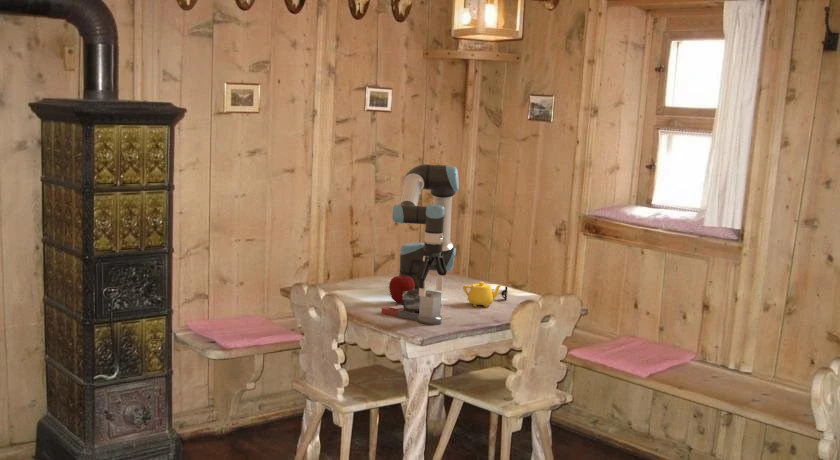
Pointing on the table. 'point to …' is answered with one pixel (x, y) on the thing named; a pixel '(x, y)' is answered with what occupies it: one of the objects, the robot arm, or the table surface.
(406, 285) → the apple
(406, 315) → the ratchet
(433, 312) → the grey upright rectangular block
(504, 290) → the valve
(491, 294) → the teapot
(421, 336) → the table surface
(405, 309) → the rock
